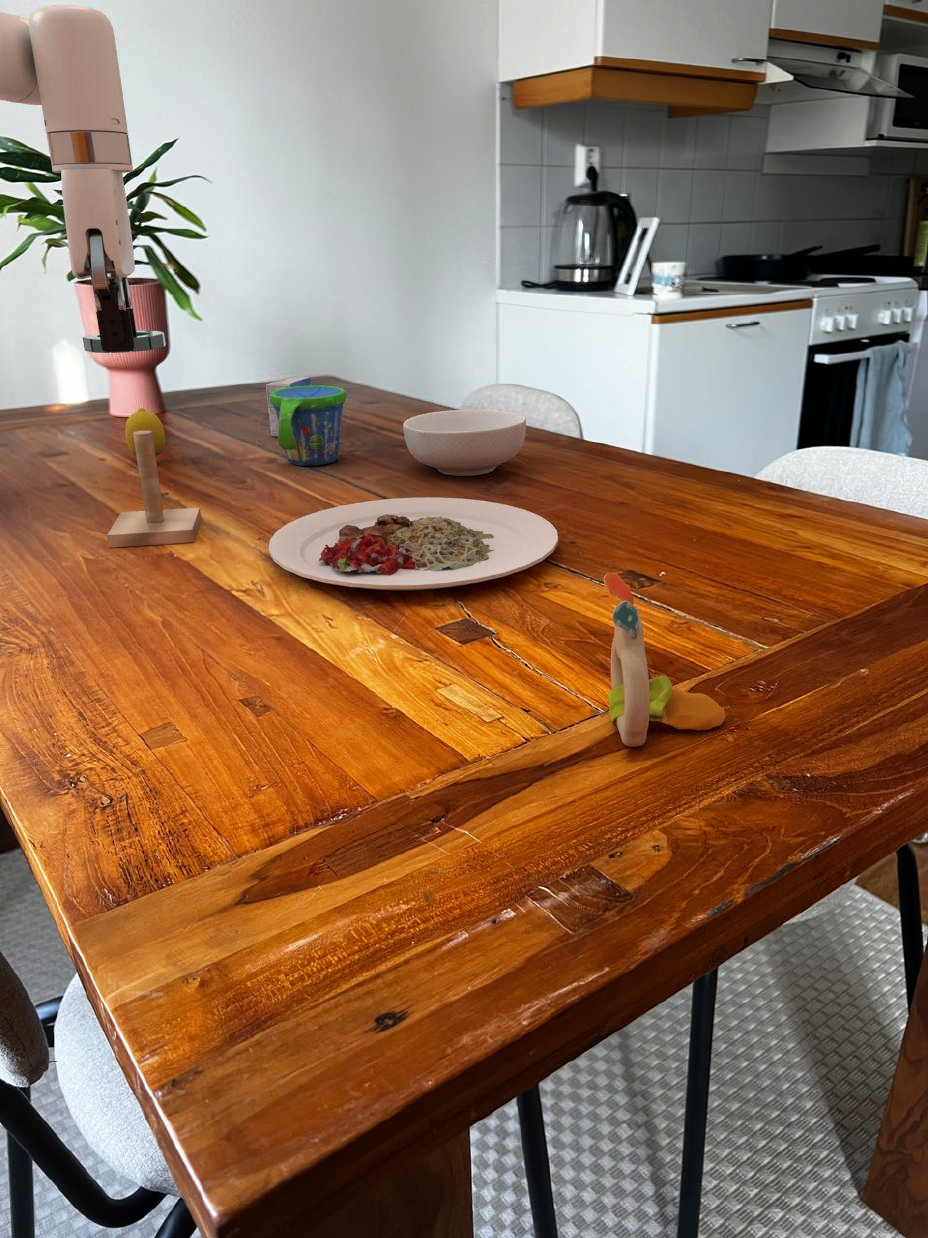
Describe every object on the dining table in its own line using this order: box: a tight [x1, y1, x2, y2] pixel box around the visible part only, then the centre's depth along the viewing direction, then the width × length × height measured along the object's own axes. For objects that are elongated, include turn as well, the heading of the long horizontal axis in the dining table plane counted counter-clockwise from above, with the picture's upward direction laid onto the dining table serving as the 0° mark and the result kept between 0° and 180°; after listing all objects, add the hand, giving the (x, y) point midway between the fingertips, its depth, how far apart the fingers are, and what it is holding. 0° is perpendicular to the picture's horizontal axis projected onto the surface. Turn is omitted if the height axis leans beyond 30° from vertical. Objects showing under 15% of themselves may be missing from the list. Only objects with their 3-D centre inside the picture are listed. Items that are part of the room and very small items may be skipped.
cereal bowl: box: [402, 409, 527, 477], centre depth 134 cm, size 17×17×7 cm
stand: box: [106, 431, 202, 549], centre depth 107 cm, size 9×9×12 cm
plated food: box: [268, 496, 559, 591], centre depth 101 cm, size 30×30×3 cm
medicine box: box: [265, 376, 313, 438], centre depth 159 cm, size 8×4×9 cm, turn 162°
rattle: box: [603, 572, 727, 748], centre depth 63 cm, size 8×8×12 cm
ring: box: [82, 330, 167, 354], centre depth 104 cm, size 8×8×1 cm
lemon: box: [124, 407, 166, 457], centre depth 141 cm, size 6×6×8 cm
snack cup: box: [270, 385, 348, 467], centre depth 139 cm, size 16×10×10 cm
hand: (120, 348), depth 101 cm, fingers closed on ring, 1 cm apart
